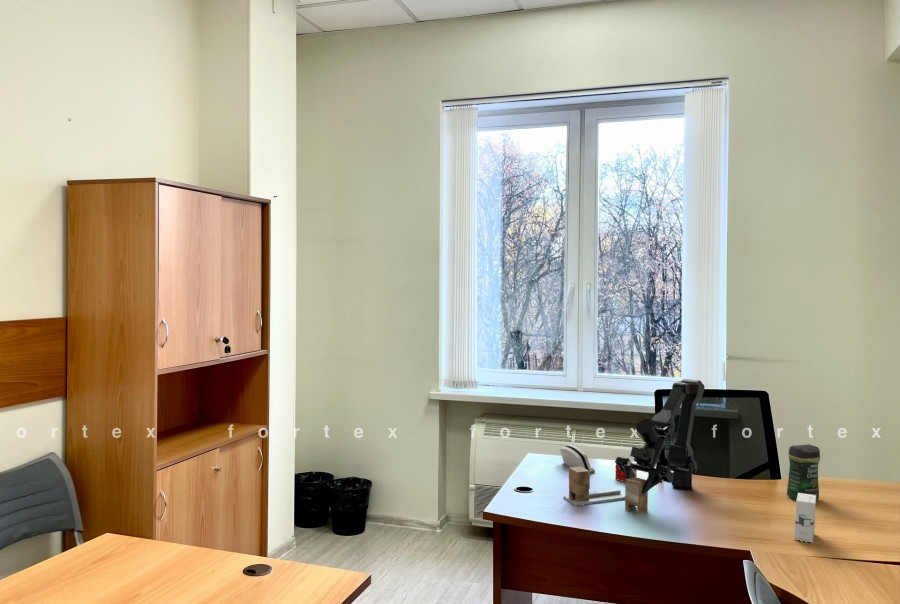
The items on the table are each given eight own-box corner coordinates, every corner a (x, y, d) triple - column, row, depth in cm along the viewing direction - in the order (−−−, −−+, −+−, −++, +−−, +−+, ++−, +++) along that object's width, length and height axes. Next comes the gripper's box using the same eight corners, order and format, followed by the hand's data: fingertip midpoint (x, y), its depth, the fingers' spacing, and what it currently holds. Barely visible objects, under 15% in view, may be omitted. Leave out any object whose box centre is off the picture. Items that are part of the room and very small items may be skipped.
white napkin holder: (596, 473, 248) (588, 450, 247) (585, 478, 247) (578, 455, 245) (574, 461, 264) (567, 439, 262) (564, 466, 262) (557, 444, 261)
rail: (618, 492, 223) (618, 489, 223) (620, 493, 222) (620, 490, 222) (569, 498, 217) (569, 495, 217) (571, 500, 215) (571, 496, 215)
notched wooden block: (632, 506, 212) (632, 476, 211) (647, 510, 208) (647, 480, 208) (624, 510, 208) (624, 479, 208) (639, 514, 204) (639, 483, 204)
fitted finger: (581, 494, 221) (582, 466, 220) (590, 500, 215) (590, 470, 215) (568, 496, 219) (569, 467, 219) (577, 501, 214) (577, 472, 213)
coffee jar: (801, 503, 214) (802, 449, 214) (782, 496, 222) (783, 443, 221) (824, 501, 217) (825, 446, 217) (804, 493, 225) (805, 441, 224)
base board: (613, 491, 226) (613, 489, 226) (626, 499, 219) (626, 496, 219) (563, 498, 220) (563, 495, 220) (575, 505, 212) (575, 503, 212)
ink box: (796, 530, 192) (797, 491, 191) (815, 534, 189) (816, 494, 189) (794, 540, 184) (795, 500, 184) (814, 544, 182) (815, 503, 181)
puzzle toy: (615, 479, 240) (615, 464, 240) (623, 476, 244) (623, 461, 244) (628, 483, 236) (628, 467, 236) (636, 479, 240) (636, 464, 240)
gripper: (618, 432, 217) (599, 471, 210) (670, 442, 204) (652, 484, 196) (629, 450, 223) (612, 489, 215) (681, 461, 209) (664, 503, 202)
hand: (634, 491), depth 207 cm, fingers closed on notched wooden block, 5 cm apart
